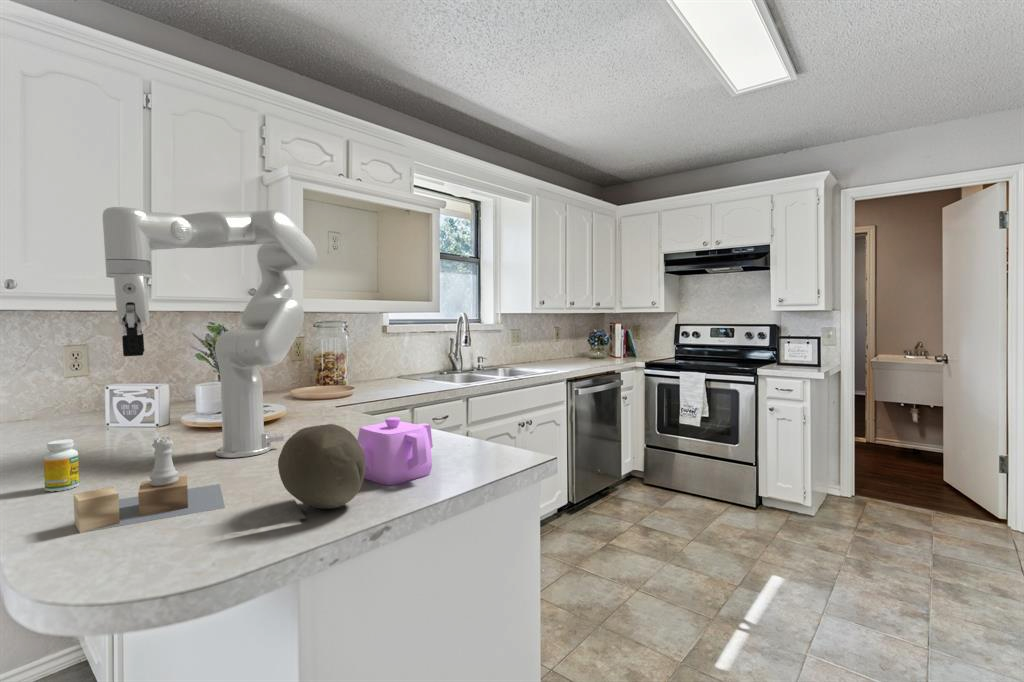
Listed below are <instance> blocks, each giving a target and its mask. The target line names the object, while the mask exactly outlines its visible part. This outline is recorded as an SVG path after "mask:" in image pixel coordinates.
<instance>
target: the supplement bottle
mask: <svg viewBox="0 0 1024 682" xmlns="http://www.w3.org/2000/svg"><path fill="white" fill-rule="evenodd" d="M74 445H75V444H74V440H73V439H71V438H70V439H67V438H65V439H58V440H53V441H49V442H47V444H46V447H47V451H48V452H46V453H45V454H44V456H43V474H44V476H43V477H44V478H43V479H44V490H45V492H48V491H49V493H55V492H54V491H58V492H63V491H62V490H65V491H68V490H67V489H69V490H72V489H71V488H73V489H75V488H78V487H79V486H80V466H79V463H80V462H79V452H78V450H76V449H75V448H74ZM74 487H75V488H74Z"/></svg>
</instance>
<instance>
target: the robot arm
mask: <svg viewBox="0 0 1024 682" xmlns="http://www.w3.org/2000/svg"><path fill="white" fill-rule="evenodd" d="M102 227H103V228H102V230H103V243H104V244H103V245H104V246H103V247H104V259H105V277H106V278H110V279H111V278H112V279H113V280H114V281H113V283H114V284H113V285H114V297H115V306H116V313H117V318H118V319H117V320H118V324H119V325H120V326H122V327H123V328H122V330H123V331H122V332H123V333H122V334H123V335H122V336H121V339H122V340H121V341H122V352H123V353H122V354H123V356H124V357H139V356H143V355H144V352H145V342H144V341H145V340H144V333H143V330H142V329H143V327H142V323H144V324H145V325H144V326H148V325H149V324H150V312H149V311H150V310H149V293H148V292H149V291H148V283H147V279H152V278H153V272H152V270H153V269H152V255H151V251H155V250H156V251H159V250H172V249H173V250H174V249H187V248H188V249H192V248H193V249H215V248H227V247H228V248H230V247H239V246H241V247H242V246H256V245H260V246H259V247H258V250H257V255H256V258H257V263H258V266H259V270H260V274H261V283H260V284H259V286H258V288H257V290H256V291H255V292H254V294H253V295H252V297H251V298H250V300H249V302H248V303H247V304H246V306H245V308H244V309H243V311H242V313H241V323H242V324H241V325H242V326H243V327H244V328H234V329H229V330H226V331H224V332H222V333H221V334H220V335H219V336H218V337H217V339H216V341H215V345H214V352H215V358H216V361H217V364H218V365H217V366H218V369H219V376H220V377H219V378H220V398H221V399H220V401H221V429H222V430H221V432H222V437H221V438H222V446H221V447H218V448H217V449H216V450H215V455H216V456H217V457H220V458H229V459H230V458H232V459H233V458H234V459H235V458H244V457H251V456H257V455H261V454H264V453H267V452H269V451H270V450H271V449H272V443H273V442H283V441H285V435H284V433H272V434H270V433H267V432H266V431H265V427H264V425H265V424H264V421H265V420H264V394H263V392H264V391H263V390H264V385H263V383H264V382H263V379H262V376H261V374H260V371H259V370H258V368H262V367H263V368H265V367H266V368H268V367H275V366H277V365H279V364H280V363H282V361H283V360H284V359H285V357H286V356H287V354H288V353H289V351H290V349H291V347H292V345H294V342H295V341H296V339H297V338H298V335H299V333H300V332H301V330H302V328H303V325H304V320H305V312H304V308H303V306H302V304H301V303H300V302H299V301H298V300H296V299H295V298H292V297H293V290H294V289H293V286H292V283H291V281H290V279H289V276H288V273H287V272H291V271H292V272H293V271H306V270H309V269H311V268H313V267H314V266H315V264H316V262H317V259H318V253H317V249H316V247H315V245H314V244H313V242H312V240H311V239H309V238H308V236H307V235H306V234H305V233H304V232H303V231H302V230H301V229H300V228H299V226H298V225H297V224H296V223H295V222H294V221H293V220H292V219H291V218H289V217H288V216H287V215H286V214H284V213H283V212H282V211H279V210H276V209H267V210H255V211H252V210H251V211H204V212H196V213H188V214H181V215H180V214H177V213H172V212H155V211H154V212H152V211H145V210H141V209H139V208H133V207H126V206H111V207H110V206H109V207H107V208H105V209H104V210H103V212H102Z"/></svg>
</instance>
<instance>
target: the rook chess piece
mask: <svg viewBox="0 0 1024 682" xmlns="http://www.w3.org/2000/svg"><path fill="white" fill-rule="evenodd" d="M174 443H175V442H174V441H173V440H172V437H170V436H168V437H167V436H164V437H161V438H160V437H158V438H154V439H153V443H152V444H151V447H152V448H154V452H153V455H154V466H153V469H152V470H151V471H152V472H151V474H150V475H149V477H148V478H149V481H150V482H149V484H150V485H151V486H154V487H160V486H167V485H171V484H174V483H176V482H177V481H178V479H179V478H178V477H179V476H178V475H179V471H177V470H176V467H175V466H174V463H173V459H172V453H173V450H172V446H173V445H174Z"/></svg>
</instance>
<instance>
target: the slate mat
mask: <svg viewBox="0 0 1024 682" xmlns="http://www.w3.org/2000/svg"><path fill="white" fill-rule="evenodd" d="M225 508H226V506H225V501H224V497H223V492H222V488H221V484H220V483H217V484H210V485H204V486H197V487H191V488H188V508H184V509H178V510H172V511H166V512H160V513H155V514H149V515H143V516H139V499H138V495H137V496H133V497H126V498H119V518H120V524H116V525H112V526H107V527H103V528H99V529H95V530H90V531H86V532H82V533H80V532H79V531H78V534H83V533H88V532H95V531H100V530H101V531H102V530H106V529H112V528H117V527H125V526H128V525H133V524H134V525H135V524H140V523H145V522H151V521H157V520H163V519H169V518H174V517H182V516H186V515H192V514H196V513H197V514H198V513H203V512H208V511H214V510H219V509H220V510H221V509H225Z"/></svg>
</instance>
